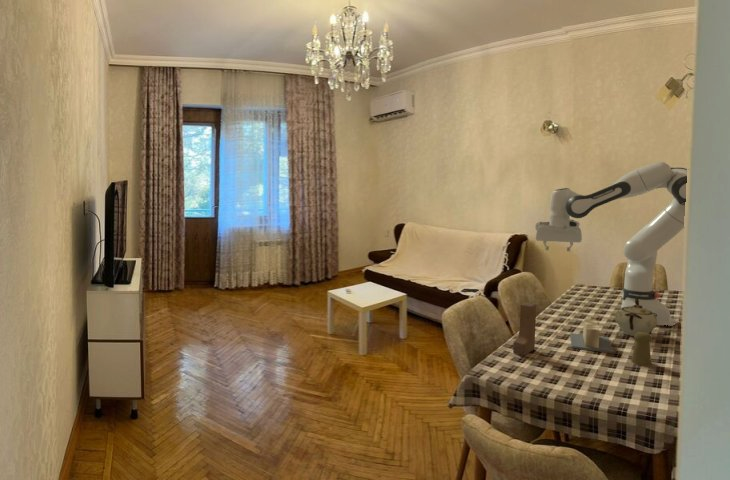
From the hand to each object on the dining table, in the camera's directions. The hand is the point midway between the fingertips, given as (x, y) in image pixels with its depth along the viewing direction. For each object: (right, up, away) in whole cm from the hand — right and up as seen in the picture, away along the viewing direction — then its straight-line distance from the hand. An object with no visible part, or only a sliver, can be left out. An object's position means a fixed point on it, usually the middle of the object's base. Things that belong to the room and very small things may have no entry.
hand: (557, 250), depth 206 cm
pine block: (0, -31, -30) cm, 43 cm away
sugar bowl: (+21, -35, -26) cm, 48 cm away
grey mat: (-3, -36, -36) cm, 51 cm away
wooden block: (-33, -38, -43) cm, 66 cm away
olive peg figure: (+5, -39, -54) cm, 67 cm away
